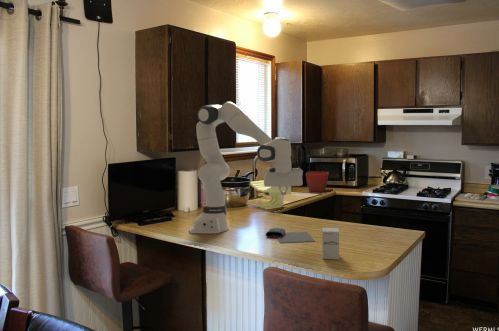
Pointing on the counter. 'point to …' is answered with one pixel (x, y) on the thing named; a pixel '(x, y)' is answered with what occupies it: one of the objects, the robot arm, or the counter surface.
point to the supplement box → (330, 243)
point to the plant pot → (317, 181)
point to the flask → (275, 232)
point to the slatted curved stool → (274, 193)
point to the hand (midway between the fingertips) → (283, 194)
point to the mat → (295, 237)
